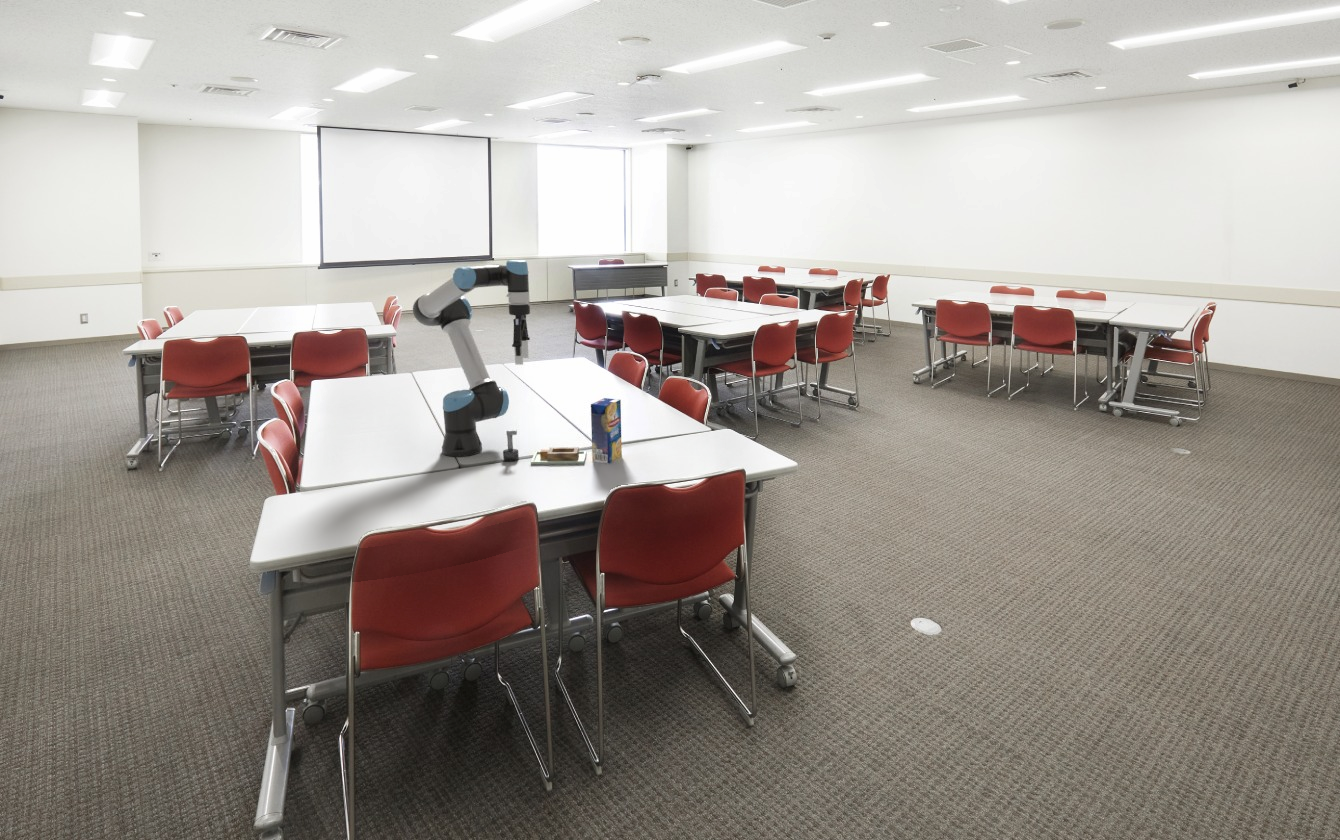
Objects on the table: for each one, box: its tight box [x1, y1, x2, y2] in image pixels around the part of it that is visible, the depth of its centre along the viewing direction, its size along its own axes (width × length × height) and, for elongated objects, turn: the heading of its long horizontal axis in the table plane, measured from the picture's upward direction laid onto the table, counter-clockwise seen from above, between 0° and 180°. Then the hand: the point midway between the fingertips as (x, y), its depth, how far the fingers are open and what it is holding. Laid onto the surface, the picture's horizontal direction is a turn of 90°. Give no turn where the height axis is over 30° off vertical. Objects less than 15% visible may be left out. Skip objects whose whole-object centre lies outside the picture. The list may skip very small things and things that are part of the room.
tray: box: [530, 450, 587, 466], centre depth 281 cm, size 20×13×1 cm, turn 92°
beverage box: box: [590, 397, 623, 464], centre depth 280 cm, size 7×11×22 cm, turn 158°
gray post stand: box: [502, 429, 520, 463], centre depth 280 cm, size 6×6×12 cm
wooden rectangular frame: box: [539, 446, 580, 461], centre depth 281 cm, size 14×8×3 cm, turn 92°
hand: (522, 361), depth 277 cm, fingers open, 13 cm apart
